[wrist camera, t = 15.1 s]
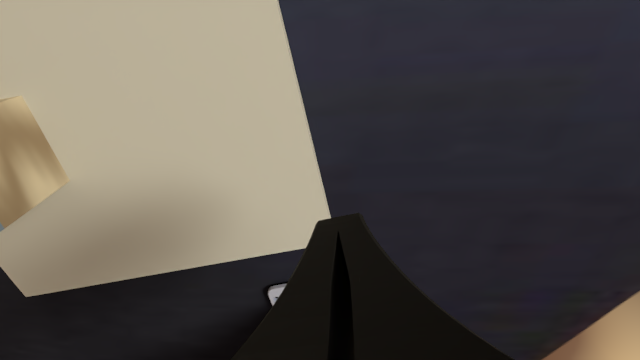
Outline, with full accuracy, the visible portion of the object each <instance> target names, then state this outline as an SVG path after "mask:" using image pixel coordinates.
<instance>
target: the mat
mask: <svg viewBox="0 0 640 360" xmlns="http://www.w3.org/2000/svg"><path fill="white" fill-rule="evenodd" d="M21 95H22V97H23V99H24V101H25V102H26V104H27V106H28V108H29V109H30V111H31V113H32V115H33V116H34V118H35V120H36V122H37V123H38V125H39V127H40V129H41V130H42V132H43V134H44V136H45V138H46V139H47V141H48V143H49V145H50V146H51V148H52V150H53V152H54V153H55V155H56V157H57V159H58V160H59V162H60V164H61V166H62V168H63V169H64V171H65V173H66V175H67V176H68V178H69V180H70V181H69V182H68V183H67V184H65V185H64V186H62V187H61V188H60V189H58V190H57V191H56V192H54V193H53V194H51V195H50V196H49V197H47V198H46V199H45V200H43V201H42V202H41V203H39V204H38V205H36V206H35V207H34V208H32V209H31V210H30V211H28V212H27V213H25V214H24V215H23V216H21V217H20V218H19V219H17V220H16V221H15V222H13V223H12V224H10V225H9V226H8V227H6V228H5V229H4V230H2V231H1V232H0V267H1V268H2V269H3V270H4V271H5V273H6V274H7V275H8V276H9V278H10V279H11V280H12V281H13V282H14V284H15V285H16V286H17V287H18V288H19V290H20V291H21V292H22V293H23V294H24V296H25V297H30V296H35V295H41V294H47V293H52V292H58V291H64V290H69V289H75V288H81V287H86V286H92V285H98V284H103V283H109V282H115V281H120V280H126V279H132V278H138V277H143V276H149V275H155V274H160V273H166V272H172V271H177V270H183V269H189V268H194V267H200V266H206V265H211V264H217V263H223V262H228V261H234V260H240V259H246V258H251V257H257V256H263V255H268V254H274V253H280V252H285V251H291V250H297V249H302V248H306V247H307V244H308V242H309V240H310V238H311V235H312V233H313V230H314V228H315V225H316V223H317V222H318V221H319V220H324V219H330V218H331V216H330V212H329V208H328V204H327V200H326V195H325V191H324V187H323V183H322V179H321V175H320V171H319V167H318V163H317V158H316V154H315V150H314V146H313V142H312V138H311V134H310V130H309V125H308V121H307V117H306V113H305V109H304V105H303V101H302V97H301V93H300V88H299V84H298V80H297V76H296V72H295V68H294V64H293V60H292V55H291V51H290V47H289V43H288V39H287V35H286V31H285V27H284V23H283V18H282V14H281V10H280V6H279V2H278V0H0V99H5V98H10V97H15V96H21Z"/></svg>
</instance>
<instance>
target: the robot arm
mask: <svg viewBox="0 0 640 360" xmlns="http://www.w3.org/2000/svg"><path fill="white" fill-rule="evenodd" d="M268 296H269V299H270V301H271V304H272V308H271V309H270V311H269V312H268V314H267V315H266V316H265V318H264V319H263V320H262V322H261V323H260V324H259V326H258V327H257V328H256V329H255V331H254V332H253V333H252V334H251V336H250V337H249V338H248V339H247V341H246V342H245V343H244V344H243V345H242V347H241V348H240V349H239V350H238V351H237V353H236V354H235V355H234V356H233V357H232V358H231V359H230V360H514V359H513V358H511V357H510V356H508V355H506V354H505V353H503V352H502V351H500V350H499V349H497V348H496V347H494V346H493V345H491V344H490V343H488V342H487V341H485V340H484V339H482V338H481V337H479V336H478V335H476V334H475V333H474V332H472V331H471V330H470V329H468V328H467V327H466V326H464V325H463V324H462V323H460V322H459V321H458V320H456V319H455V318H454V317H452V316H451V315H450V314H448V313H447V312H446V311H444V310H443V309H442V308H441V307H440V306H438V305H437V304H436V303H435V302H434V301H433V300H431V299H430V298H429V297H428V296H427V295H426V294H425V293H423V292H422V291H421V290H420V289H419V288H418V287H417V286H416V285H415V284H414V283H413V282H412V281H411V280H410V279H409V278H408V277H407V276H406V275H405V274H404V273H403V272H402V271H401V270H400V269H399V268H398V266H397V265H396V264H395V263H394V262H393V261H392V260H391V258H390V257H389V256H388V255H387V254H386V252H385V251H384V250H383V248H382V247H381V246H380V245H379V243H378V242H377V241H376V239H375V238H374V236H373V235H372V233H371V232H370V230H369V228H368V227H367V225H366V223H365V221H364V218H363V216H362V215H361V214H359V213H356V214H351V215H345V216H340V217H335V218H330V219H324V220H319V221H318V222H317V223H316V225H315V228H314V230H313V233H312V235H311V238H310V240H309V242H308V244H307V247H306V249H305V251H304V253H303V255H302V257H301V259H300V261H299V263H298V265H297V267H296V269H295V271H294V272H293V274H292V276H291V278H290V279H289V281H288V283H287V284H281V285H275V286H271V287H270V288H269V290H268ZM275 297H278V298H275Z"/></svg>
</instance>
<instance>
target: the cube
mask: <svg viewBox="0 0 640 360" xmlns="http://www.w3.org/2000/svg"><path fill="white" fill-rule="evenodd" d="M69 181H70V180H69V178H68V176H67V175H66V173H65V171H64V169H63V168H62V166H61V164H60V162H59V160H58V159H57V157H56V155H55V153H54V152H53V150H52V148H51V146H50V145H49V143H48V141H47V139H46V138H45V136H44V134H43V132H42V130H41V129H40V127H39V125H38V123H37V122H36V120H35V118H34V116H33V115H32V113H31V111H30V109H29V108H28V106H27V104H26V102H25V101H24V99H23V97H22V95H21V96H15V97H10V98H5V99H0V232H1V231H2V230H4V229H5V228H6V227H8V226H9V225H10V224H12V223H13V222H15V221H16V220H17V219H19V218H20V217H21V216H23V215H24V214H25V213H27V212H28V211H30V210H31V209H32V208H34V207H35V206H36V205H38V204H39V203H41V202H42V201H43V200H45V199H46V198H47V197H49V196H50V195H51V194H53V193H54V192H56V191H57V190H58V189H60V188H61V187H62V186H64V185H65V184H67V183H68V182H69Z"/></svg>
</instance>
